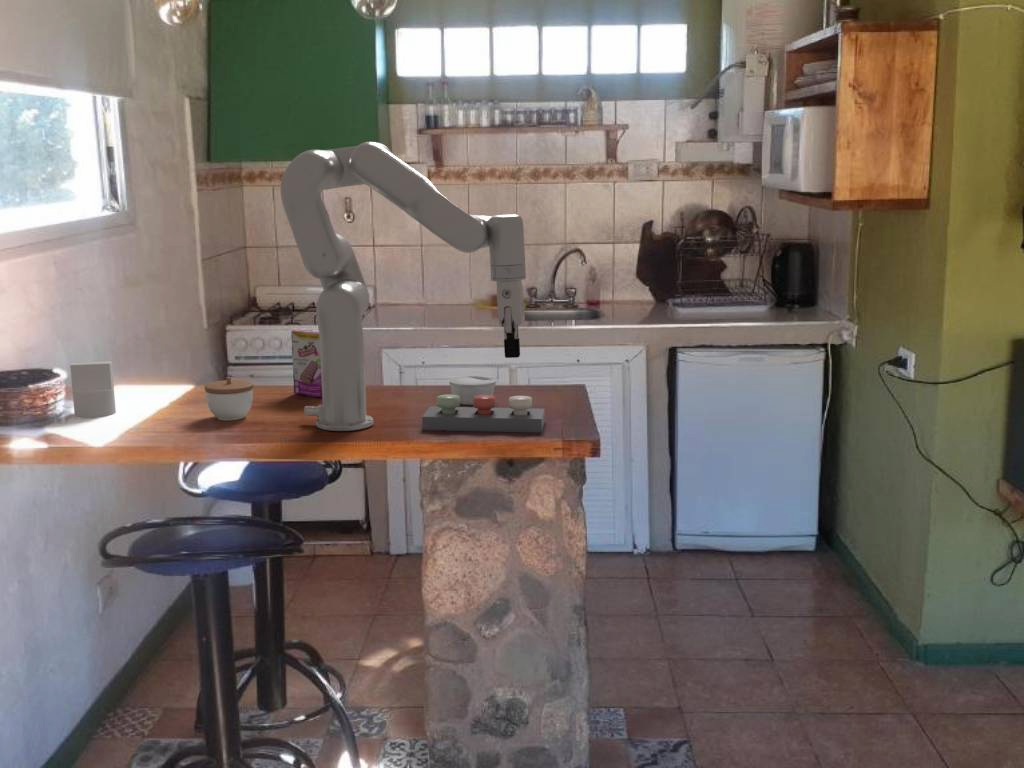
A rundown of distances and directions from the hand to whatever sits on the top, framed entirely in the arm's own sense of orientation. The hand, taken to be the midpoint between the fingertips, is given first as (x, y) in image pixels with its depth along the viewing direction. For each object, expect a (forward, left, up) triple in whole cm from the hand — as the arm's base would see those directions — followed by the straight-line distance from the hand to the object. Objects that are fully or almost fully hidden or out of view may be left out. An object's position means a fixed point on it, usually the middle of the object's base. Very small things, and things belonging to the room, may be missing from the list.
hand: (512, 356), depth 233 cm
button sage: (-14, 0, -14) cm, 20 cm away
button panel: (-6, 0, -16) cm, 17 cm away
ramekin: (-12, +25, -16) cm, 32 cm away
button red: (-6, 0, -14) cm, 15 cm away
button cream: (+2, 0, -14) cm, 14 cm away
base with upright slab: (-98, +4, -16) cm, 100 cm away
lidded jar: (-65, +3, -16) cm, 67 cm away
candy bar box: (-52, +28, -16) cm, 61 cm away
